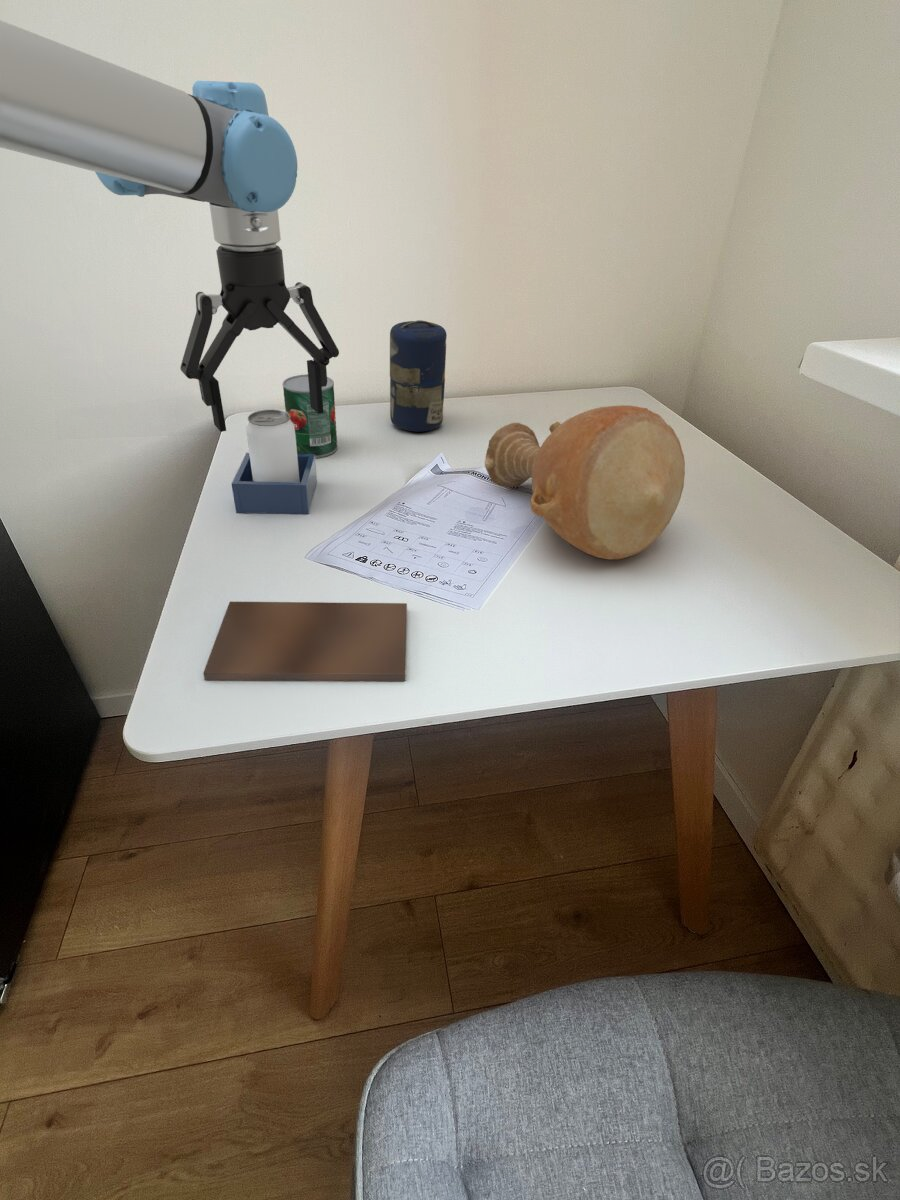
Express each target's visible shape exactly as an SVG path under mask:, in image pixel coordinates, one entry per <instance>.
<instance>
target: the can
mask: <svg viewBox="0 0 900 1200" xmlns="http://www.w3.org/2000/svg"><path fill="white" fill-rule="evenodd" d="M247 421H248V422H247V425H246V427H245V428H246V430H245V431H246V432H245V433H246V440H247V448H248V453H249V456H250V463H251V470H252V477H253V482H300V480H299V469H298V458H297V447H296V437H295V428H294V425H293V423H292V422H291V420H290V415H289V414H288V413H287V412H286V411H285V410H281V409H261V410H257V411H253V412H252V413H250V414H249V415H248V416H247Z"/></svg>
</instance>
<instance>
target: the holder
mask: <svg viewBox="0 0 900 1200" xmlns="http://www.w3.org/2000/svg"><path fill="white" fill-rule="evenodd" d="M297 458H298V469H299V480H300V482H253V477H252V470H251V463H250V456H249V452H245V454H244V456H243V459H242V461H241V463H240V465H239V467H238V469H237V471H236V473H235V475H234V478H233V480H232V482H231V489H232V494H233V496H232V497H233V501H234V508H235V513H236V514H275V515H276V514H278V515H279V514H280V515H281V514H282V515H283V514H285V515H309V514H310V511H311V507H312V502H313V499H314V495H315V492H316V487H317V483H318V476H317V462H316V458H315V454H310V455H309V454H297Z"/></svg>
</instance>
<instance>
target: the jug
mask: <svg viewBox="0 0 900 1200" xmlns="http://www.w3.org/2000/svg"><path fill="white" fill-rule="evenodd" d="M548 430H549V431H550V434H549V435H548V436H547V437H546V438H545V440H543V442H542V444H541V445H540V443H539V440H538V438H537V436H536V433H535V432H534V431H533V430H532V429H531V427H529V426H527V425H525V424H523V423H520V422H511V423H509V424H506V425H504V426H502V427H500V428H498V429H497V430H495V432H494V433H493V435H492V436H491V438H489V440H488V446H487V449H486V453H485V458H484V459H485V460H484V468H485V470H486V471H487V475H488V476H489V479H490V480H491V481H492V483H494V484H495V485H498V486H500V487H504V488H515V487H517V486H521V485H522V484H524V483H526V481H528V480H529V479H530V478H531V489H532V495H531V499H530V510H531V512H532V513H533V514H534V515H535V516H537V517H541V518H543V520H544V521H545V523H547V525H548V526H549V527H550V528H551V529H552V530H553V532H555V533H556V534H557V535H558V536H559V537H561V539H563V540H564V541H566V542H567V543H568V544H570V545H571V546H573V547H574V548H576V549H577V550H579V551H581V552H582V553H583V552H584V553H585V554H587V555H590V556H592V557H595V558H598V559H604V560H623V559H626V558H628V557H631V556H632V557H633V556H635V555H637V554H639V553H641V552H642V551H644V550H645V549H647V548H648V547H649V546H651V545H652V544H653V543H654V542H655V541H656V540H657V539H658V538H659V536H660V535H662V533H663V532H664V531H665V529H666V528H667V526H668V525H669V524H670V522H671V520H672V518H673V516H674V514H675V513H676V511H677V508H678V506H679V503H680V501H681V497H682V494H683V492H684V491H683V490H684V485H685V476H686V475H685V474H686V462H685V455H684V452H683V449H682V448H683V447H682V445H681V441H680V439H679V438H678V436H677V434H676V432H675V430H674V428H673V427H672V426H671V425H670V424H668V423H667V422H666V421H665V419H664V418H663V417H662V416H661V415H660V414H659V413H656V412H654V411H651V410H649V409H648V408H647V407H641V406H637V405H622V404H621V405H620V404H619V405H608V406H600V407H595V408H592V409H588V410H586V411H583V412H580V413H578V414H576V415H574V416H572V417H569V418H568V419H566V420H565V421H563V422H562V423H560V422H559V421H555V422H553V423H552V424H551V425H550V426H549V428H548Z"/></svg>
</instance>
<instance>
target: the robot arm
mask: <svg viewBox="0 0 900 1200" xmlns="http://www.w3.org/2000/svg"><path fill="white" fill-rule="evenodd" d="M191 88H192V89H191V90H192V94H189V93H187V92H185V90H181V89H178V88H176V87H174V86H172V85H170V84H169V85H168V84H166V83H163V82H161V81H158V80H157V79H153V78H151V77H148V76H145V75H143V74H139V73H137V72H135V71H132V70H130V69H127V68H124V67H122V66H119V65H117V64H114V63H111V62H110V61H109V62H108V61H107V60H104V59H101V58H99V57H96V56H94V55H92V54H88V53H86V52H83V51H81V50H79V49H76V48H74V47H70V46H68V45H66V44H63V43H60V42H57V41H55V40H53V39H50V38H47V37H45V36H43V35H39V34H37V33H34V32H32V31H30V30H27V29H23V28H22V27H19V26H16V25H14V24H11V23H8V22H6V21H4V20H2V19H0V148H2V149H5V150H9V151H13V152H17V153H21V154H25V155H29V156H33V157H37V158H40V159H43V160H48V161H51V162H55V163H60V164H64V165H67V166H72V167H75V168H78V169H79V168H80V169H84V170H88V171H91V172H95V175H96V176H97V178H98V180H99V181H100V182H101V184H102V185H103V186H104V188H106V189H107V190H108V191H109V192H111V193H113V194H115V195H117V196H137V197H139V198H142V197H143V198H144V197H145V196H146V195H147V196H148V195H166V196H170V197H175V198H176V197H177V198H182V199H186V200H191V201H195V202H196V201H197V202H203V203H205V202H206V203H209V209H210V217H211V225H212V232H213V239H214V241H215V242H216V243H217V244H219V246H218V247H217V249H216V251H215V252H216V258H217V259H216V260H217V265H218V266H217V267H218V272H219V279H220V285H221V289H220V292H219V294H209V293H204V292H203V291H198V292H196V294H195V309H196V310H195V311H196V312H195V316H194V318H193V322H192V326H191V329H190V333H189V336H188V340H187V343H186V347H185V349H184V354H183V356H182V360H181V363H180V368H179V369H180V371H181V372H182V374H183V375H184V376H185V377H186V378H187V379H189V380H198V385H199V386H198V387H199V390H200V397H201V399H202V402H203V403H204V404H205V406H207V407H211V413H212V418H213V425H214V426H215V427H216V428H217V429H218V431H219V432H220V433H221V432H227V425H226V421H225V413H224V408H223V407H224V406H223V403H222V401H223V400H222V396H221V390H220V384H219V383H220V382H219V380H218V379H217V378H216V377H215V376H214V375H215V374H216V372H217V370H218V369H219V367H220V365H221V363H222V362H223V360H224V359H225V357H226V355H227V353H228V352H229V350H230V349H231V347H232V346H233V344H234V342H235V340H236V339H237V337H239V336H240V335H241V333H242V332H243V330H244V329H246V330H248V331H257V330H258V329H261V328H263V329H274V326H276V325H277V324H278V325H279V326H281V327H282V328H283V329H284V330H285V331H286V332H287V333H288V334H289V335H290V337H292V338H293V340H295V341H296V343H298V345H300V347H302V349H304V351H305V352H306V353H308V354H309V356H310V357H311V358H312V359H308V360H306V367H307V374H308V381H309V392H310V404H311V408H312V409H314V410H315V411H316V412H317V413H318V414H319V413H324V412H323V399H322V387H324V386H326V385H327V377H328V372H327V366H329V364H330V359H332V358H337V357H339V355H340V350H339V348H338V347H337V345H336V342H335V340H334V339H333V337H332V336H331V334H330V332H329V330H328V328H327V326H326V324H325V322H324V320H323V319H322V317H321V315H320V314H319V312H318V309H317V308H316V306H315V304H314V299H313V294H312V289H311V287H310V286H308V285H306V284H304V283H302V282H301V281H297V282H296V283H295V284H294V286H289V287H287V285H286V281H285V280H286V279H285V267H284V256H283V250H282V249H281V247H280V246H279V245H278V243H279V242H281V240H282V239H281V238H282V237H281V229H280V227H281V226H280V217H279V209H281V208H282V207H284V206H285V205H286V204H287V203H288V202H289V200H290V198H291V197H292V195H293V193H294V191H295V189H296V186H297V185H296V184H297V179H298V158H297V157H298V156H297V152H296V149H295V145H294V143H293V140H292V138H291V136H290V135H289V133H288V131H287V130H286V128H285V127H284V126H283V125H282V124H281V123H280V122H278V120H276V119H275V118H274V117H272V116H269V109H268V104H267V98H266V95H265V94H266V93H265V92H264V90H263V88H261V86H260V85H258V84H256V83H254V82H243V81H223V80H222V81H221V80H220V81H218V80H197V81H195V82H194V83H193V85H192V87H191ZM290 300H292V301H293V303H295V304H297V305H298V306H299V308H300V310H301V312H302V314H303V316H304V317H305V319H306V321H307V323H308V324H309V326H310V328H311V330H312V332H313V334H314V335H315V337H316V338H317V340H318V342H319V344H320V346H321V348H319V347H318V346H317V345H316V344H315V343H314V342H313V341H312V340H311V339H310V338H309V337H308V335H306V334H305V332H304V331H303V330H302V329H301V328H300V327H299V326H298V324H296V323H295V322H294V321H293V319H292V318H291V317H290V316H289V315H288V314H287V313H286V312H285V310H286V308H287V307H288V305H289V302H290ZM221 306H222V307H223V309H224V310H225V311H227V314H226V316H225V317H224V319H223V320H222V324H221V327H220V328H219V330H218V332H217V334H216V335H215V337H214V339H213V340H212V342H211V343H210V345H209V347H208V349H207V350H206V352H205V354H204V356H203V352H204V349H205V346H206V343H207V340H208V336H209V333H210V329H211V326H212V322H213V315H216V314H217V312H218V309H219V307H221ZM202 356H203V357H202Z"/></svg>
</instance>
